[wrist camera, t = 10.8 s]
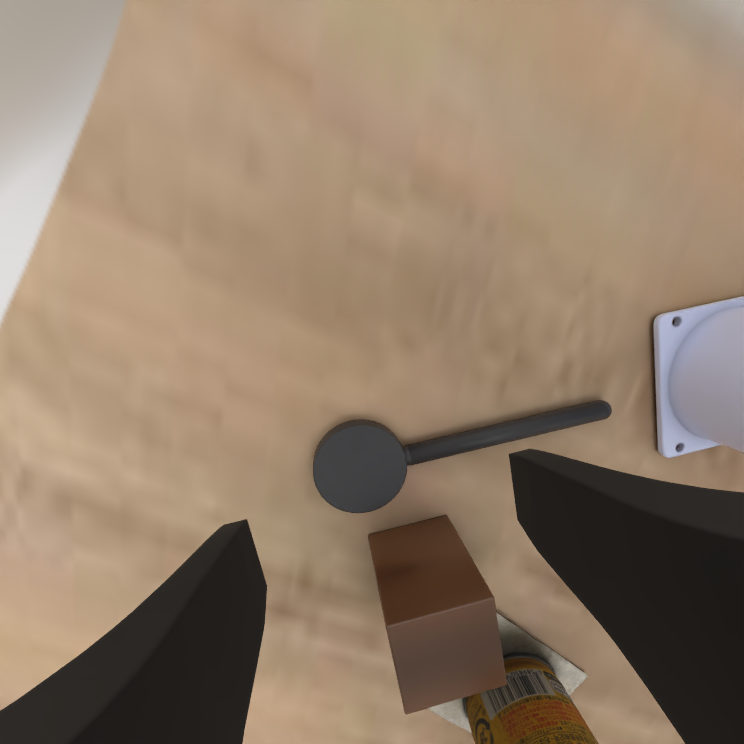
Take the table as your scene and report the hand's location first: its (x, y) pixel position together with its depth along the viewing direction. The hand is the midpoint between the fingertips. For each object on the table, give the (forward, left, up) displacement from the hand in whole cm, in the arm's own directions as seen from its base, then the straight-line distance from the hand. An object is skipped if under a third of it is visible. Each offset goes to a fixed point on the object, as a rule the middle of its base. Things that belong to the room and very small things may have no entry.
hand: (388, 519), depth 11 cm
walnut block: (-1, +9, -9) cm, 13 cm away
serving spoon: (-5, +3, -9) cm, 11 cm away
